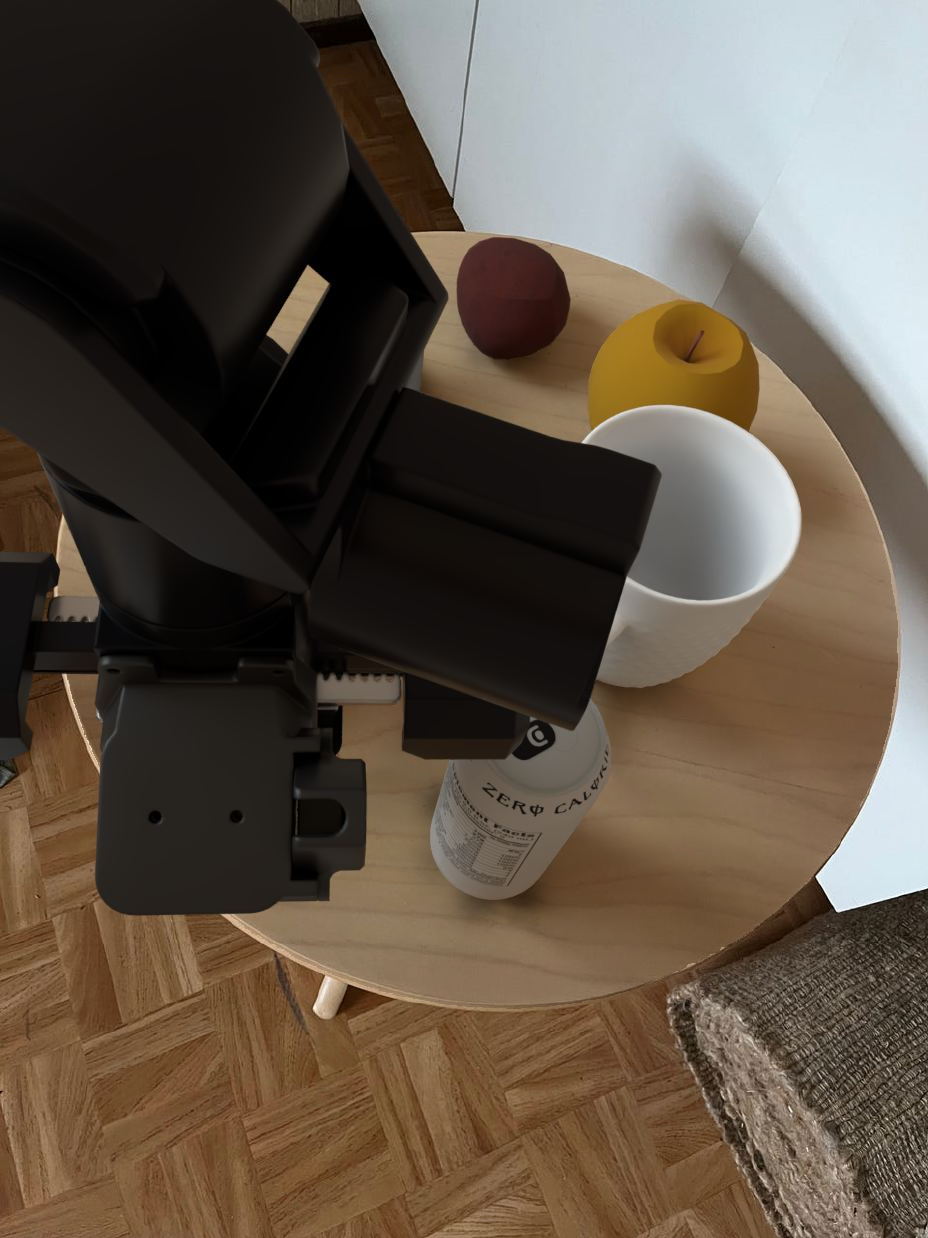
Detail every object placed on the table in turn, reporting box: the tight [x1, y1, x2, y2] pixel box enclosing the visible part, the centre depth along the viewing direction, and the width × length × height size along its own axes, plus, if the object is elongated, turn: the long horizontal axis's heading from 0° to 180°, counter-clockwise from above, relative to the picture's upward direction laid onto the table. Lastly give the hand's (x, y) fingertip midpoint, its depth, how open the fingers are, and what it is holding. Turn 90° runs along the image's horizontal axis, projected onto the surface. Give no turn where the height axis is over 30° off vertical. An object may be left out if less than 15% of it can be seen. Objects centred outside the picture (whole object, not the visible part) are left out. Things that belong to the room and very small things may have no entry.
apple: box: [587, 299, 760, 432], centre depth 58 cm, size 10×10×12 cm
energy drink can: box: [429, 698, 612, 901], centre depth 44 cm, size 6×6×15 cm
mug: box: [581, 405, 803, 689], centre depth 51 cm, size 15×11×13 cm
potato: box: [455, 236, 572, 361], centre depth 64 cm, size 7×8×6 cm
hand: (246, 749), depth 39 cm, fingers closed
